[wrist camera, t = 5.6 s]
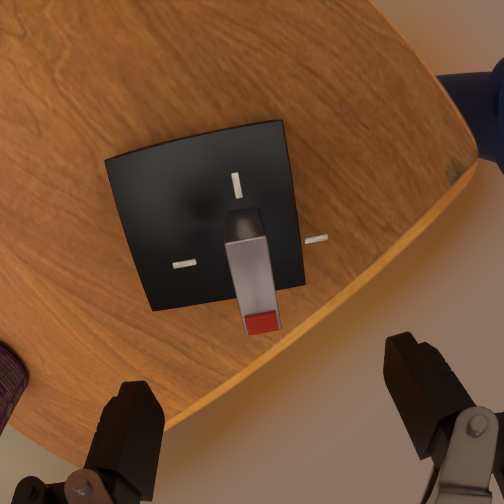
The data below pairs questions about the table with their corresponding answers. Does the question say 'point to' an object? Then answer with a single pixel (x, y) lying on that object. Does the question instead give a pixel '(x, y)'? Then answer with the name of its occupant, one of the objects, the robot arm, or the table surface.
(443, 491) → the robot arm
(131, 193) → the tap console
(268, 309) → the rotary knob
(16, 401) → the beverage can
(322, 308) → the table surface
